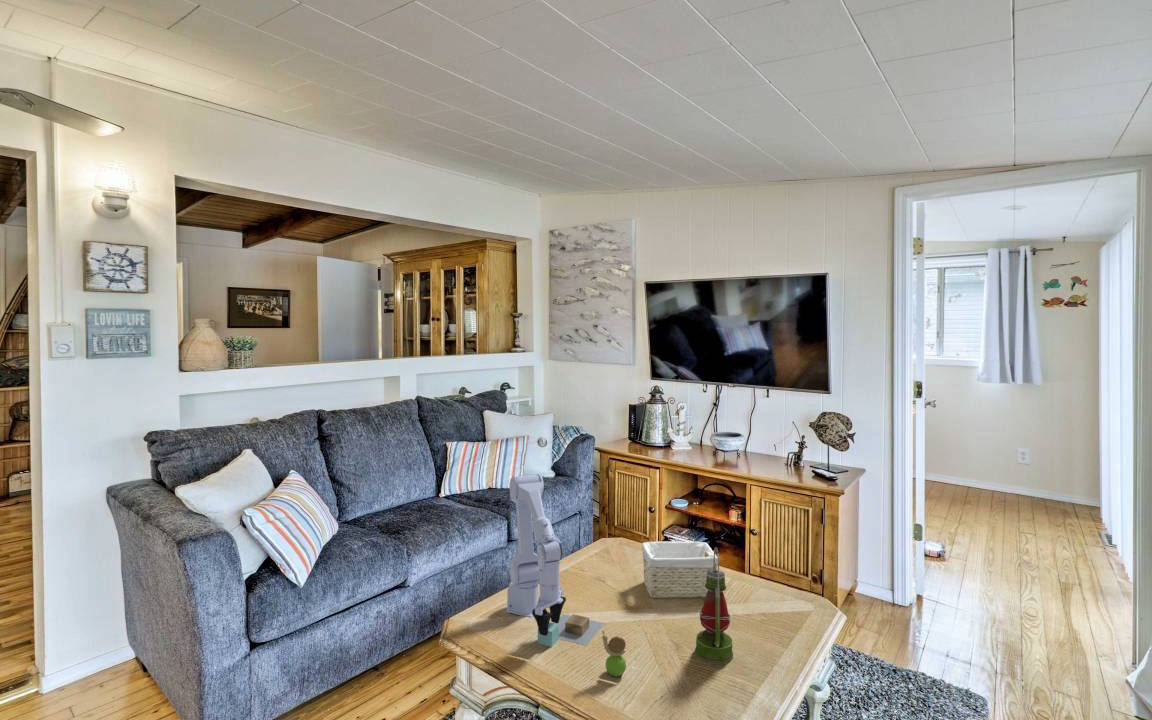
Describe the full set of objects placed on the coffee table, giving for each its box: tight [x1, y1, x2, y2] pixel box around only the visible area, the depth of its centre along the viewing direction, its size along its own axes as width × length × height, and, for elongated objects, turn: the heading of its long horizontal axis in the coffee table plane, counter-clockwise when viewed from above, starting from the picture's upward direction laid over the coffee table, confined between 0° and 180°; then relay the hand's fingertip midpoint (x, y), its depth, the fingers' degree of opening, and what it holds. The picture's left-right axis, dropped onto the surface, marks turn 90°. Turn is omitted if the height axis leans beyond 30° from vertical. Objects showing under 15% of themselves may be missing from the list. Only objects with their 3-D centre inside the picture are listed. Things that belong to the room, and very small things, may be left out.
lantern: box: [694, 547, 734, 665], centre depth 167 cm, size 14×11×30 cm
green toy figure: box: [601, 630, 627, 678], centre depth 157 cm, size 5×6×12 cm
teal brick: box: [537, 622, 560, 648], centre depth 173 cm, size 4×4×5 cm
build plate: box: [554, 613, 605, 646], centre depth 180 cm, size 14×14×1 cm
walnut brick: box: [565, 613, 590, 636], centre depth 180 cm, size 6×6×3 cm
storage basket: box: [641, 541, 718, 599], centre depth 208 cm, size 24×16×15 cm
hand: (549, 628), depth 173 cm, fingers open, 7 cm apart
